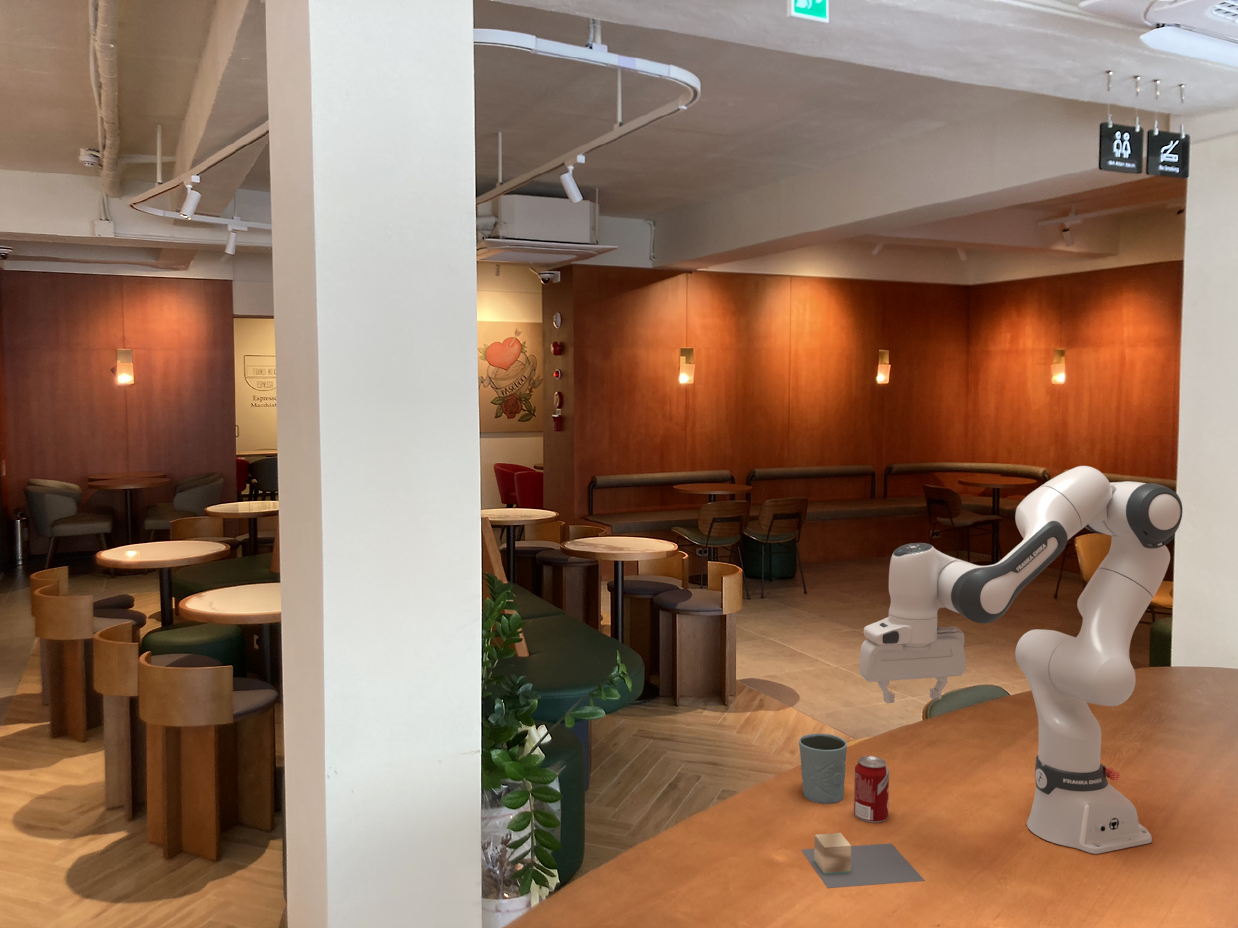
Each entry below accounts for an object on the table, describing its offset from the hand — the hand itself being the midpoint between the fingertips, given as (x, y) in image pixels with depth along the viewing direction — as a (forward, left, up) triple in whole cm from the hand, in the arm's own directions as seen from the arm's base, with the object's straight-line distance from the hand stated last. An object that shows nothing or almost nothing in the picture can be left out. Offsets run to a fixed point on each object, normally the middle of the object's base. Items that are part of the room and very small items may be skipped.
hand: (912, 700), depth 179 cm
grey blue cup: (+9, -23, -28) cm, 38 cm away
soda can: (+3, -11, -28) cm, 31 cm away
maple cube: (+18, +8, -23) cm, 30 cm away
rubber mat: (+13, +8, -28) cm, 32 cm away
